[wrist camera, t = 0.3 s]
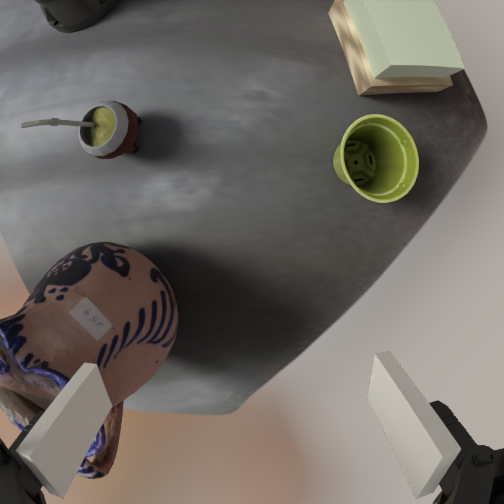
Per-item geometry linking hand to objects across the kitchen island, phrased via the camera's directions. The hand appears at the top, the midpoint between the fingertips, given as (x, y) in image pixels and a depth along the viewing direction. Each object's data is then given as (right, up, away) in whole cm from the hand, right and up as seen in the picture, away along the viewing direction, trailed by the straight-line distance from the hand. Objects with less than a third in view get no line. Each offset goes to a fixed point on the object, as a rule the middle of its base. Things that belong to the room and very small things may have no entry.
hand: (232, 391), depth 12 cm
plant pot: (+14, +18, +24) cm, 33 cm away
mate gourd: (-17, +22, +23) cm, 36 cm away
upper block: (+20, +34, +15) cm, 43 cm away
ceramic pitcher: (-16, -1, +28) cm, 32 cm away
